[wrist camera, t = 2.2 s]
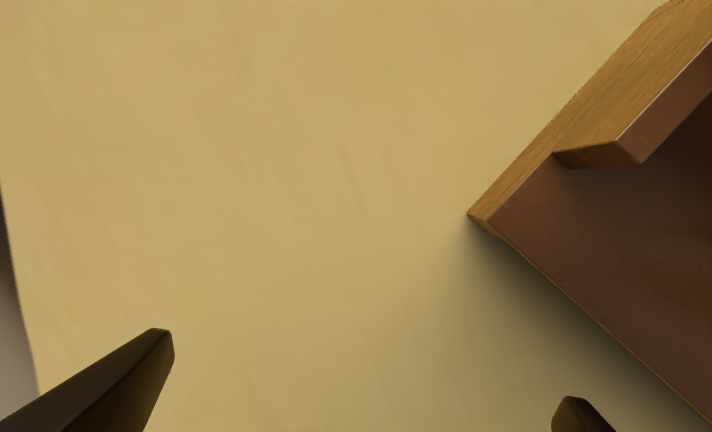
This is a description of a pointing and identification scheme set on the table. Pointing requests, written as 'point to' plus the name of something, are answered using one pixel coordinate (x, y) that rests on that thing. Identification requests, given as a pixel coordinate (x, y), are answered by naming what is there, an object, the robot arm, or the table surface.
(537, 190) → the shelf
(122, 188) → the table surface
